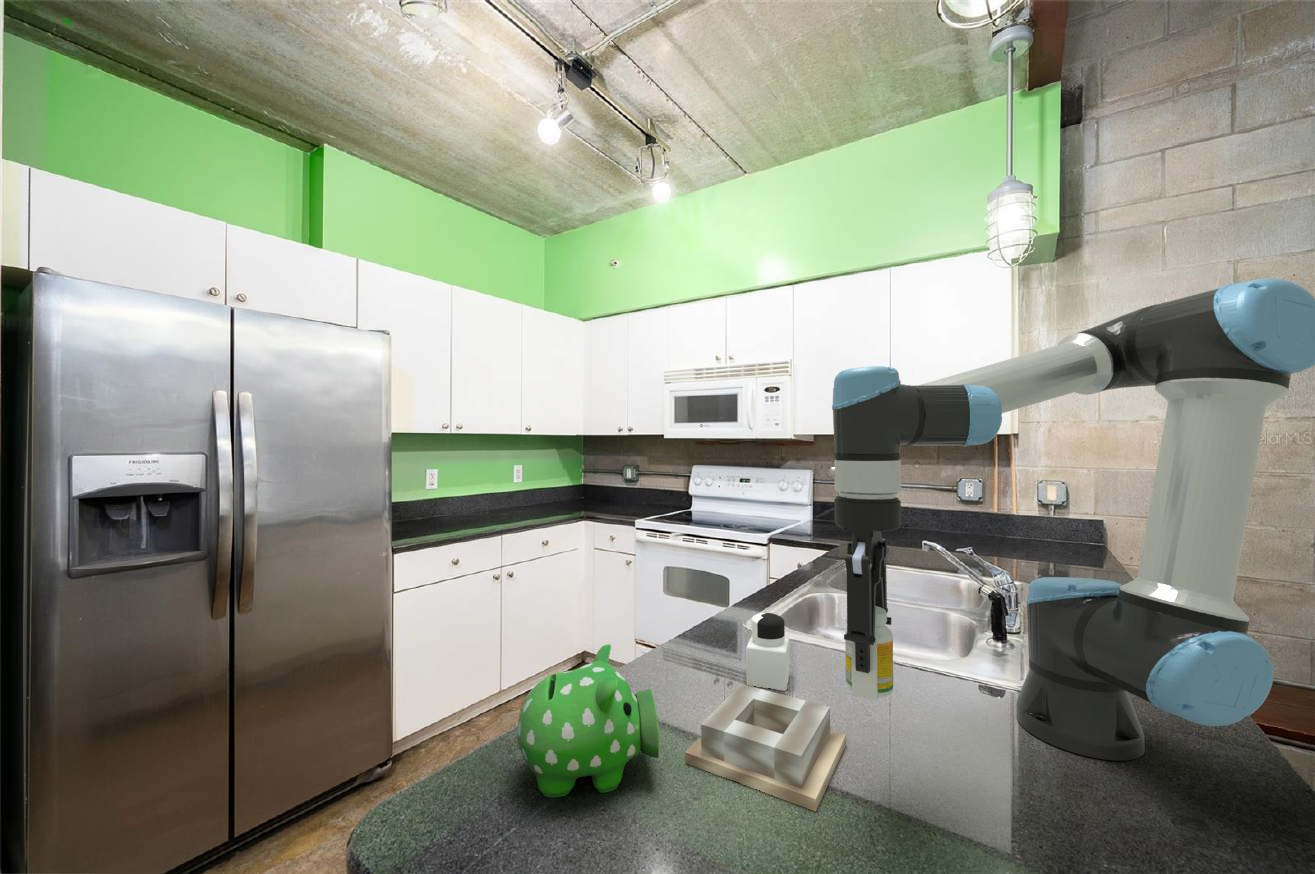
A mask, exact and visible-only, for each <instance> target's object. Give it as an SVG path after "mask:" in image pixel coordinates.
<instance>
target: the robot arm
mask: <svg viewBox="0 0 1315 874" xmlns="http://www.w3.org/2000/svg"><path fill="white" fill-rule="evenodd" d="M1313 367H1315V297H1314V295H1313V294H1312V293H1310V291H1308V290H1307V289H1305V287H1303V286H1301V285H1299V284H1298V283H1295V282H1292V281H1291V280H1288V279H1283V278H1275V277H1274V278H1273V277H1268V278H1265V277H1264V278H1258V279H1254V280H1248V281H1244V282H1240V283H1239V282H1235V283H1229V284H1225V285H1223V286H1220V287H1219V288H1216V289H1211V290H1208V291H1205V292H1204V291H1203V292H1199V293H1197V294H1191V295H1189V296H1185V297H1181V298H1177V299H1173V300H1170V301H1166V302H1165V301H1164V302H1161V303H1157V304H1156V303H1155V304H1153V305H1149V306H1148V305H1147V306H1145V307H1142V308H1138V309H1137V310H1136V309H1135V310H1133V311H1131V312H1128V313H1126V314H1123V315H1120V316H1119V317H1116V318H1113V319H1111V320H1108V321H1106V322H1104V323H1101V324H1099V325H1096V326H1093V327H1090V328H1088V329H1085V330H1081V331H1079V332H1075V333H1072V334H1068V335H1067V336H1065V337H1063V338H1062V339H1061V340H1059V342H1058V344H1057V345H1054V346H1050V347H1046V348H1043V349H1040V350H1036V351H1033V352H1029V353H1025V354H1022V355H1019V356H1016V357H1011V358H1009V359H1006V360H1001V361H998V362H994V363H991V364H987V365H985V366H981V367H978V368H974V369H971V370H967V371H964V372H961V373H957V374H954V375H949V376H947V377H942V378H940V379H936V380H933V381H929V382H926V383H925V382H924V383H923V384H919V385H909V384H907V385H906V384H901V380H900V374H899V371H898V369H896V368H894V367H892V366H876V365H875V366H861V367H853V368H847V369H844V370H841V371H840V372H838V373H837V374H836V375H835V377H834V380H833V389H832V405H831V410H832V418H833V419H832V420H833V421H832V422H833V425H832V426H833V446H834V447H833V449H834V454H833V459H834V462H833V463H834V464H833V465H834V466H831V467H830V469H829V473H830V474H831V475H833V476H834V490H835V491H836V492H837V493H839V495H837V496H835V498H834V499H833V500H834V523H835V525H836V526H837V527H839V528H841V529H845V530H847V529H848V530H850V531H851V532H852V537H851V538H852V539H851V542H848V544H847V552H846V555H845V557H844V561H845V569H846V570H845V571H846V572H845V573H846V627H847V634H843V640H844V641H845V640H848V641H851V656H852V691H851V696H854V697H858V698H862V699H865V700H866V699H867V700H871V701H875V702H877V701H878V699H879V698H878V678H877V642H875V607H876V606H877V607H881V608H883V609H885V610H886V612H887V613H888V611H889V608H888V592H887V589H888V588H887V587H888V586H887V553H888V541H887V538H884V537H883V535H882V532H892V531H897V530H898V529H900V528H901V525H902V510H901V509H902V505H901V503H902V500H900V499H899V497H896V495H897V494H900V493H901V492H902V473H901V472H902V470H901V469H902V468H901V467H902V466H901V465H902V464H901V463H902V460H901V454H900V453H901V447H910V446H914V447H915V446H917V447H918V446H922V447H926V446H930V447H932V446H933V447H941V446H943V447H944V446H945V447H949V446H950V447H951V446H953V447H954V446H959V447H964V448H966V447H968V446H976V445H977V446H979V445H980V446H981V445H984V444H988V443H989V442H990V441H992V440H994V438H996V435H997V434H998V433H999V431H1000V428H1001V426H1002V422H1003V414H1004V413H1007V412H1011V411H1015V410H1019V409H1021V408H1025V407H1029V406H1032V405H1035V404H1039V403H1042V402H1045V401H1046V402H1047V401H1048V400H1052V399H1056V398H1059V397H1063V396H1067V395H1070V394H1072V393H1075V394H1079V395H1084V396H1085V395H1087V396H1088V395H1094V394H1098V393H1101V392H1104V391H1108V390H1115V389H1116V390H1117V389H1124V388H1125V389H1126V388H1137V387H1150V386H1153V387H1154V390H1155V391H1156V392H1157V393H1158V394H1159V395H1161V396H1162V397H1163V398H1164V400H1166V401H1167V407H1166V412H1165V419H1164V425H1163V431H1162V435H1161V441H1160V447H1159V453H1158V459H1157V464H1156V469H1155V475H1154V479H1153V480H1154V481H1153V486H1152V493H1151V499H1150V505H1149V510H1148V515H1147V519H1146V527H1145V532H1144V533H1145V534H1144V539H1143V544H1142V549H1141V555H1140V561H1139V566H1138V572H1137V577H1136V578H1134V579H1133V580H1131V581H1128V582H1127V583H1124V584H1122V583H1120V582H1116V581H1113V580H1107V579H1106V580H1105V579H1096V578H1087V577H1085V578H1084V577H1073V576H1072V577H1069V576H1068V577H1065V576H1061V577H1060V576H1052V577H1051V576H1049V577H1048V576H1047V577H1039V578H1036V579H1033V580H1032V581H1031V582H1030V583H1029V584H1028V591H1027V600H1026V603H1025V604H1026V609H1027V612H1026V613H1027V617H1026V618H1027V639H1028V640H1027V643H1028V646H1027V647H1028V672H1027V675H1026V676H1025V680H1024V682H1023V684H1022V686H1021V689H1020V692H1019V694H1018V696H1017V699H1016V707H1015V709H1016V712H1015V713H1016V719H1017V722H1018V723H1019V725H1021V726H1022V727H1023V728H1024V730H1025V731H1027V732H1029V733H1030V734H1031V735H1032V736H1034V737H1036V738H1038V739H1039V740H1042V741H1043V742H1044V743H1048V744H1050V745H1052V746H1054V747H1057V748H1059V749H1062V750H1064V751H1068V752H1071V753H1073V754H1077V755H1081V756H1084V757H1090V758H1095V759H1100V760H1108V761H1119V762H1122V761H1132V760H1136V759H1139V758H1141V757H1142V756H1143V755H1144V754H1145V751H1146V750H1145V749H1146V747H1145V732H1144V731H1143V730H1144V729H1143V728H1142V725H1141V721H1140V720H1139V717H1138V714H1137V713H1136V711H1135V708H1134V705H1133V703H1132V701H1131V698H1130V695H1129V694H1132V695H1134V696H1135V697H1138V698H1140V699H1142V700H1144V701H1146V702H1148V703H1150V704H1152V705H1153V706H1154V707H1156V708H1157V709H1159V710H1161V711H1162V712H1165V713H1168V714H1173V715H1176V716H1177V717H1179V718H1182V719H1185V720H1187V721H1189V722H1191V723H1194V724H1196V725H1200V726H1207V727H1225V726H1229V725H1232V724H1235V723H1238V722H1241V721H1242V720H1243V719H1244V718H1246V717H1249V716H1251V715H1254V714H1253V713H1255V712H1256V711H1257V710H1258V709H1259V708H1260V707H1262V705H1263V704H1264V702H1265V701H1266V700H1267V698H1268V696H1269V694H1270V692H1271V689H1272V687H1273V686H1272V685H1273V682H1274V677H1275V676H1274V675H1275V674H1274V673H1275V672H1274V665H1273V662H1272V661H1271V660H1270V659H1269V656H1270V655H1269V653H1268V651H1267V650H1266V649H1265V647H1263V646H1262V644H1260V643H1259V642H1257V640H1256V641H1255V639H1253V638H1252V637H1251V636H1248V631H1249V623H1250V617H1249V616H1248V615H1247V614H1246V613H1245V612H1244V611H1243V610H1242V609H1241V607H1239V606H1238V604H1236V602H1235V600H1234V597H1235V590H1236V585H1237V580H1238V574H1239V573H1238V572H1239V567H1240V562H1241V555H1242V550H1243V545H1244V537H1245V532H1246V527H1247V521H1248V515H1249V509H1250V508H1249V507H1250V503H1251V498H1252V497H1251V496H1252V491H1253V487H1254V479H1255V475H1256V467H1257V462H1258V455H1259V450H1260V443H1261V438H1262V433H1263V427H1264V420H1265V416H1266V415H1265V414H1266V409H1267V407H1268V406H1269V405H1270V404H1273V403H1274V402H1276V401H1278V400H1280V399H1282V398H1284V397H1285V396H1287V395H1288V393H1289V387H1290V382H1291V377H1292V374H1295V373H1301V372H1304V371H1305V370H1309V369H1310V368H1313ZM885 625H886V626H887V625H889V626H891V625H892V617H889V616H887V622H886V624H885Z"/></svg>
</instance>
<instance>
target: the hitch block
mask: <svg viewBox="0 0 1315 874" xmlns="http://www.w3.org/2000/svg"><path fill="white" fill-rule="evenodd" d="M846 746H847V735H846V734H843V733H841V732H836V731H833V730H831V707H830V706H828V705H825V704H819V703H816V702H811V701H810V700H809V701H808V700H805V699H801V698H797V697H793V696H789V695H786V694H781V693H778V692H773V691H769V690H768V689H767V690H766V689H764V688H763V689H762V688H760V687H754V686H748V685H747V684H743V683H741V684H740V685H738V686H737V687H736V688H735V690H733V691H732V693H730V694H729V695H728V697H727V698H725V700H723V701H722V702H721V703H720V704H719V706H717V707H716V708H715V709H714V710H713V712H712V713H711V714H710V715H708V717H707V718H706V719H704V720H703V721H702V723H701V724H700V736H699V737H698V738H697V739H696V740H695V741H694V742H693V743H692V745H690V746H689V748H688V749H687V750H686V751H685V752H684V764H686V765H689V766H692V767H693V768H697V769H700V770H703V771H705V772H707V773H710V772H711V774H713V775H716V776H719V777H721V776H722V778H724V777H725V778H724V779H726V778H727V779H726V780H729V779H730V781H732V780H734V781H737V782H739V783H738V784H740V783H741V784H740V785H743V786H745V785H746V787H748V786H749V787H748V788H751V789H752V790H756V789H757V791H759V790H760V791H759V792H762V793H764V792H765V794H767V795H769V796H772V795H773V797H775V798H778V799H781V800H783V801H786V802H789V803H791V804H794V805H796V806H799V807H802V808H805V809H808V810H810V811H813V812H817V810H818V808H819V805H820V803H821V801H822V799H823V797H824V794H825V793H826V790H827V788H828V785H829V784H830V782H831V780H832V777H833V774H834V773H835V772H836V768H837V766H838V765H839V762H840V760H841V757H842V755H843V753H844V751H845V748H846ZM734 781H733V782H734ZM737 782H736V783H737Z"/></svg>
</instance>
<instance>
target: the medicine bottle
mask: <svg viewBox="0 0 1315 874" xmlns="http://www.w3.org/2000/svg"><path fill="white" fill-rule="evenodd" d="M785 629H786V627H785V619H784V618H783V617H782V616H780V615H778V614H776V613H773V612H760V613H757V614H754V615H753V616H752V617H751V636H750V638H749V640H748V643H747V645H746V647H745V650H746V651H745V652H746V653H745V654H746V655H745V656H746V658H745V661H746V669H745V670H746V672H745V673H746V674H745V675H746V685H747V686H748V685H749V686H751V687H754V686H756V687H755V688H761V687H762V688H763V689H768V688H771V689H770V690H774V689H775V691H776V690H777V691H782V692H786V691H787V688H788V682H789V678H790V671H791V670H790V667H791V666H790V664H791V663H790V639H789V637H786V636H785V634H786V633H785V632H786V631H785ZM762 688H761V689H762Z"/></svg>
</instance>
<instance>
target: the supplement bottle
mask: <svg viewBox="0 0 1315 874" xmlns="http://www.w3.org/2000/svg"><path fill="white" fill-rule="evenodd" d="M887 614H888V612H886V610H885V609H883V608H881V607H877V606H876V607H875V642H877V678H878V699H882V698H887V697H889V696H890V695H891V694H892V693H893V691H894V636H893V633H892V631H891V629H890V628H889V627H888V626H887V624H886V622H887V617H888V615H887ZM844 632H845V634H847V626H846V627H845V631H844ZM844 642H845V643H844V645H845V646H844V647H845V684H846V686H847V688H848V689H849V690H850V692H852V656H851V641H848V640H844Z"/></svg>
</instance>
